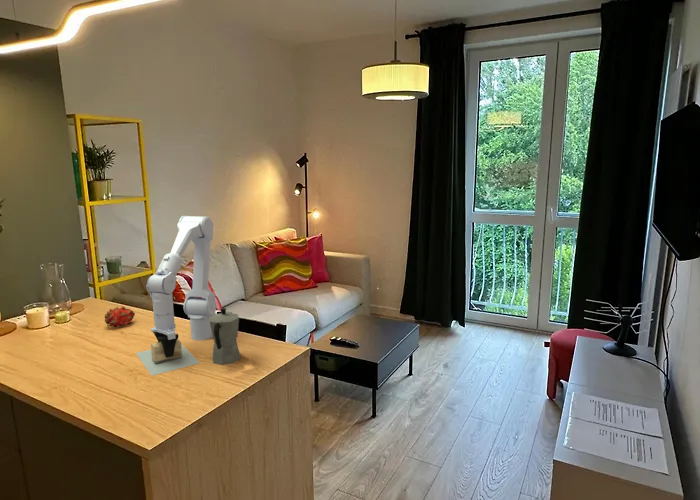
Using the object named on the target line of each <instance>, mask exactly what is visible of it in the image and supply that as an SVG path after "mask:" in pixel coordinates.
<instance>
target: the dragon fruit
mask: <svg viewBox="0 0 700 500" xmlns="http://www.w3.org/2000/svg"><path fill="white" fill-rule="evenodd" d="M135 313H136V312H134V311H133V310H132V309H130V308H126V307H125V306H121V307H120V308H119V307H118V306H116V307H115V308H110V309H109V310H108V311H107V312H106V314H105V315H104V322H105V324H106V325H107V327H110V328H111V327H113V329H116V328H117V327H118V328H124V327H125V326H130V325H131V324H132V320H133V319H134V318H135Z"/></svg>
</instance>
